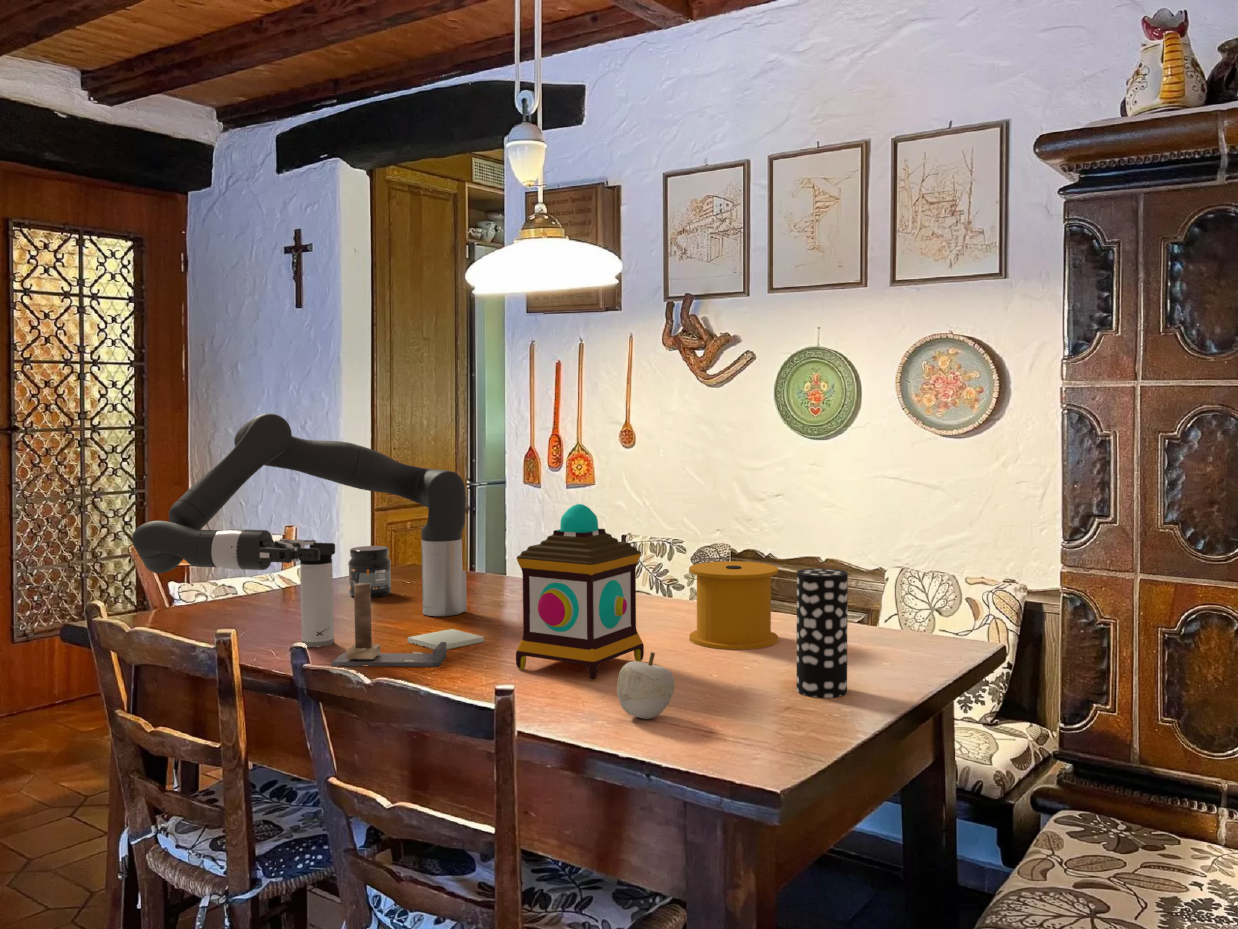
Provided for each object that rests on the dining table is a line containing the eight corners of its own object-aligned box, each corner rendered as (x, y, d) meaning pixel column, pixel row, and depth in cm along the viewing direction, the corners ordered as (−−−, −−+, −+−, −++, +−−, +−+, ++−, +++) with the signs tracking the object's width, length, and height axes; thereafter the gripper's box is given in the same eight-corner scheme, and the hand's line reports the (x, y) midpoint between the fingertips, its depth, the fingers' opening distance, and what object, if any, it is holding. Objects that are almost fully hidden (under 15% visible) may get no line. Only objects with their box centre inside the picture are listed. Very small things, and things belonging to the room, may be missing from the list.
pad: (451, 633, 222) (451, 628, 222) (483, 641, 214) (483, 636, 214) (407, 642, 214) (407, 637, 214) (439, 650, 206) (439, 645, 206)
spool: (678, 646, 209) (678, 571, 208) (702, 627, 226) (702, 558, 225) (767, 652, 203) (767, 575, 202) (785, 633, 220) (786, 562, 219)
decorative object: (608, 722, 159) (608, 657, 158) (628, 707, 167) (628, 645, 167) (664, 728, 156) (663, 662, 155) (681, 712, 164) (681, 649, 163)
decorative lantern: (595, 685, 180) (594, 511, 179) (504, 670, 191) (502, 506, 189) (654, 660, 197) (653, 501, 195) (567, 648, 208) (565, 497, 206)
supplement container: (358, 591, 274) (357, 545, 273) (397, 591, 272) (396, 545, 271) (342, 598, 263) (341, 550, 262) (382, 599, 262) (381, 551, 261)
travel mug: (326, 648, 209) (324, 548, 208) (296, 647, 210) (293, 547, 209) (341, 641, 215) (338, 544, 214) (311, 640, 216) (309, 543, 215)
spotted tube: (791, 685, 179) (791, 568, 178) (838, 683, 180) (839, 567, 179) (803, 698, 171) (804, 576, 170) (853, 697, 172) (854, 575, 171)
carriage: (346, 658, 195) (344, 586, 195) (354, 652, 200) (353, 582, 200) (372, 659, 195) (371, 586, 194) (380, 652, 200) (379, 582, 199)
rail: (331, 666, 195) (331, 650, 195) (343, 656, 202) (343, 641, 202) (438, 666, 194) (438, 650, 193) (446, 657, 201) (446, 642, 200)
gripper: (226, 533, 191) (314, 536, 190) (257, 525, 205) (339, 527, 204) (226, 574, 191) (314, 577, 190) (257, 564, 205) (339, 566, 204)
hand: (327, 551), depth 197 cm, fingers open, 8 cm apart
